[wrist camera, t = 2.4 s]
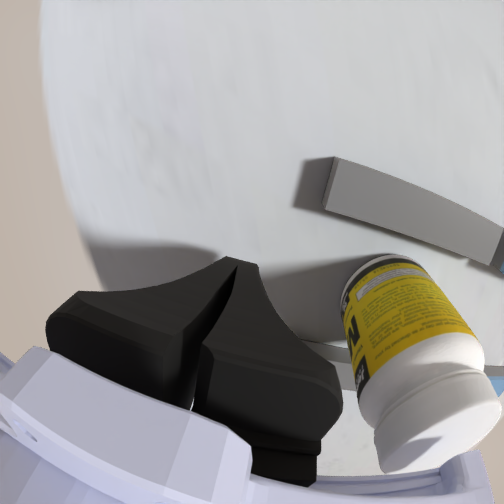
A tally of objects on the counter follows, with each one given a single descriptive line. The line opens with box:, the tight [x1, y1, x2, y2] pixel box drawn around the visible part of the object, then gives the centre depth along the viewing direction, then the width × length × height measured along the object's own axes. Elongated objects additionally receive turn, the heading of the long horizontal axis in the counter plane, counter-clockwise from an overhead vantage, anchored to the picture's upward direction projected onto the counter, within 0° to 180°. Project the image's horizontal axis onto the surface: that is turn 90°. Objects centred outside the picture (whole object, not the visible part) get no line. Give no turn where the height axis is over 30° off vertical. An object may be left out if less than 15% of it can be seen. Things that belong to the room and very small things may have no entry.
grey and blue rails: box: [301, 157, 504, 397], centre depth 12 cm, size 11×19×2 cm, turn 77°
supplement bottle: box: [340, 255, 502, 475], centre depth 9 cm, size 5×5×8 cm
